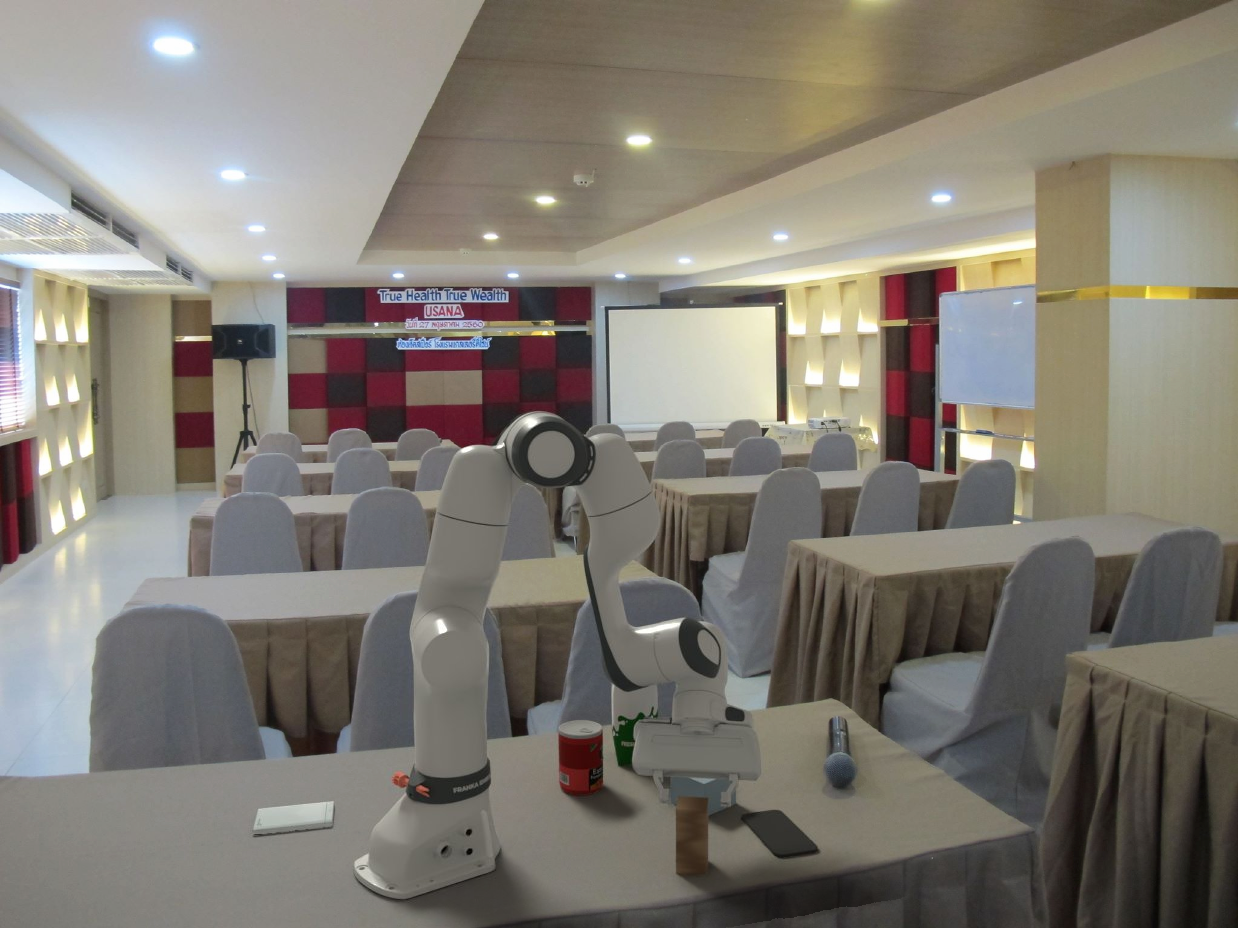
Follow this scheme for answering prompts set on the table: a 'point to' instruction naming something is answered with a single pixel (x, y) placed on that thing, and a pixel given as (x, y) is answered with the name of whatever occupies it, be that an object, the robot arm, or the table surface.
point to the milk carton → (630, 717)
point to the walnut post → (692, 835)
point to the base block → (701, 791)
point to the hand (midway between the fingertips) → (694, 803)
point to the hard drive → (294, 818)
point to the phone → (779, 834)
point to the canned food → (580, 757)
